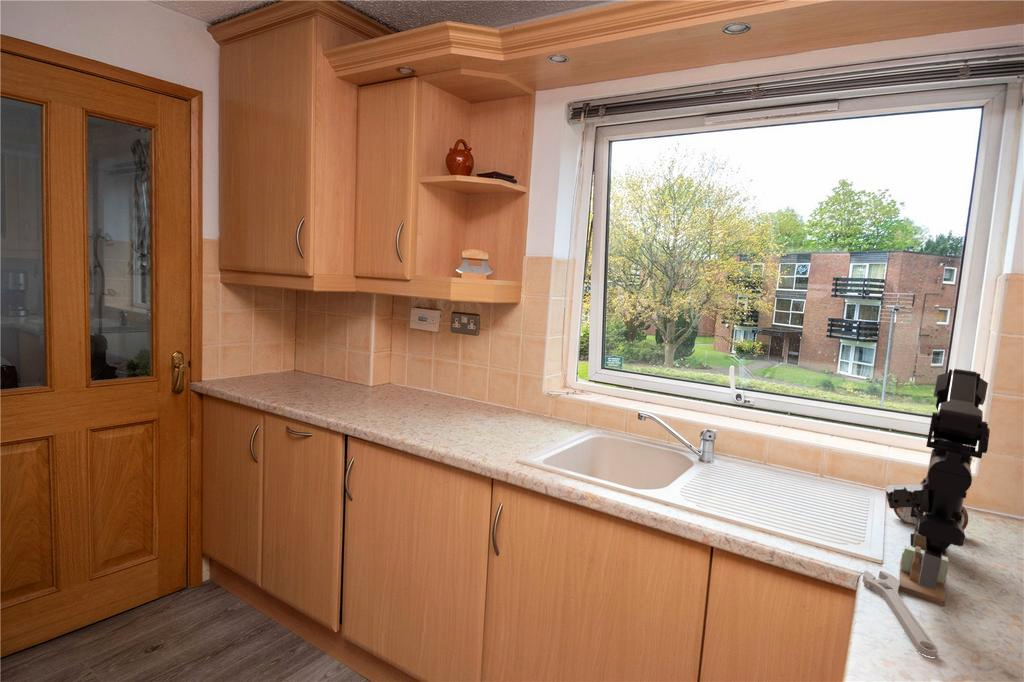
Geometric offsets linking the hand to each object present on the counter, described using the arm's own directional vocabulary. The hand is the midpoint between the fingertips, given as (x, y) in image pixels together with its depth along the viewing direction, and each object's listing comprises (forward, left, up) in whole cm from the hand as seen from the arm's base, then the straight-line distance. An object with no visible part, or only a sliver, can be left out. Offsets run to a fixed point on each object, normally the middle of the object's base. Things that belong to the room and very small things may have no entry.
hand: (930, 560), depth 104 cm
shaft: (-2, 0, -4) cm, 4 cm away
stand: (-9, 0, -9) cm, 13 cm away
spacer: (-11, 0, -8) cm, 13 cm away
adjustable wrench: (+6, -4, -9) cm, 12 cm away
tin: (-44, +2, -9) cm, 45 cm away
